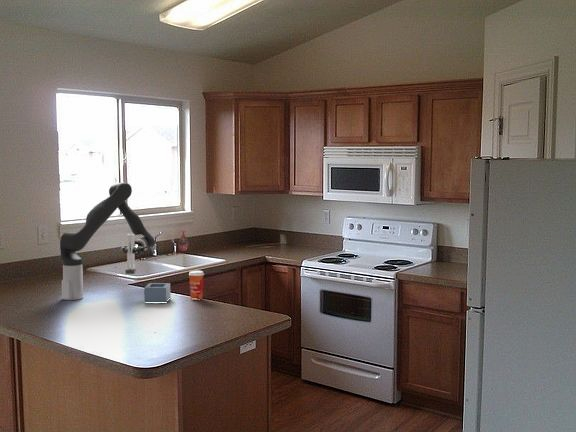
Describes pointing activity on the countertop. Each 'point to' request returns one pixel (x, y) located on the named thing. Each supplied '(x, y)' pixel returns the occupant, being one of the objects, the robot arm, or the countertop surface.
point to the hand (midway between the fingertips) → (129, 251)
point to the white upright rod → (130, 254)
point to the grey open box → (157, 292)
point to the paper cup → (196, 284)
